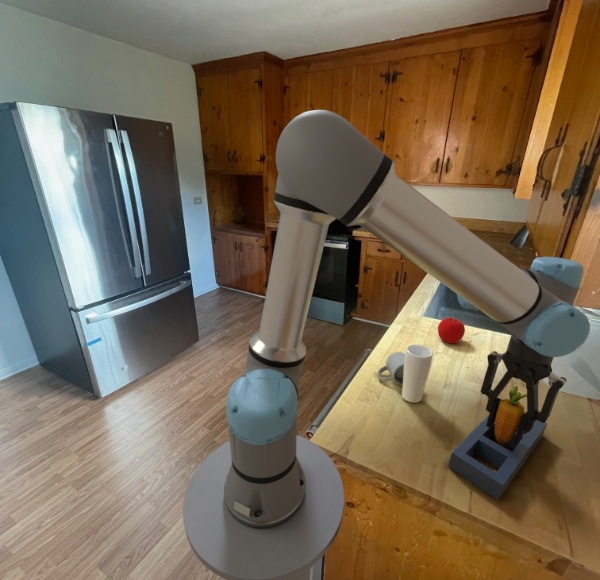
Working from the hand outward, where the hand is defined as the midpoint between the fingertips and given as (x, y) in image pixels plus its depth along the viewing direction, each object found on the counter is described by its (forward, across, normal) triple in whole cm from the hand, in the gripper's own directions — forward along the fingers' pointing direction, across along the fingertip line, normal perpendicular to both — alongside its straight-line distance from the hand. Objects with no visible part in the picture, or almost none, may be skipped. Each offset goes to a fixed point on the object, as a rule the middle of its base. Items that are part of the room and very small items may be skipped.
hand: (503, 431), depth 72 cm
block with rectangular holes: (+6, 0, 0) cm, 6 cm away
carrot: (+4, 0, 0) cm, 4 cm away
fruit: (+6, +33, -41) cm, 53 cm away
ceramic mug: (+6, +31, -5) cm, 32 cm away
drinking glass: (+6, +23, -1) cm, 24 cm away
